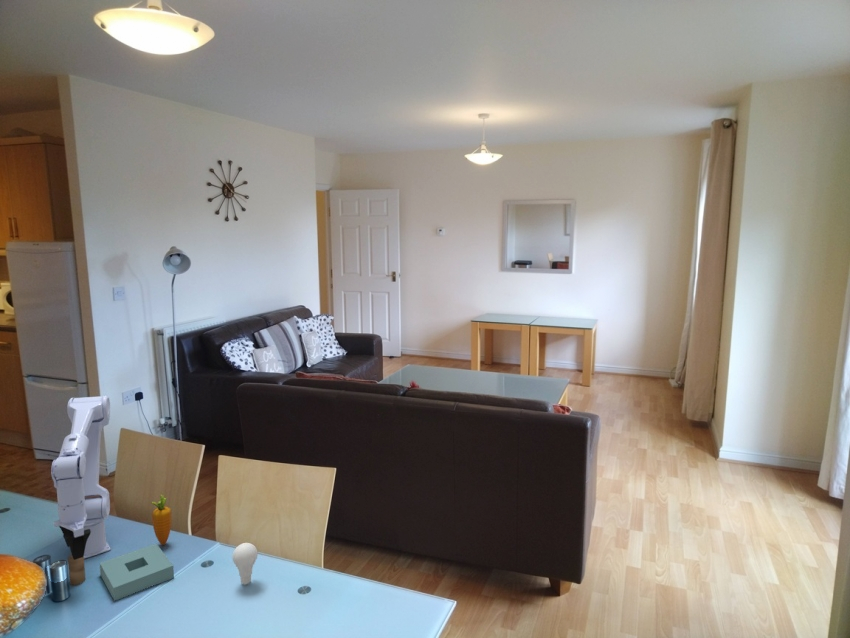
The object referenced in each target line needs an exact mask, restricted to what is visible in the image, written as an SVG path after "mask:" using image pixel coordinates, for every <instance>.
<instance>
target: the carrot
mask: <svg viewBox="0 0 850 638" xmlns="http://www.w3.org/2000/svg"><path fill="white" fill-rule="evenodd" d="M164 496H165V495H163V494H160V495H159V501H158V502H156V501H152V502H151V504H152V505H154V506H155V507H157V508H155V509H154V510H153V513H152V514H151V517H152V526H153V530H154V535H155V538H156V539H157V541H158V543H160V545H161V546H162V547H164V546H165V545H166V544H167V541H168V539H169V536H170V534H171V530H172V529H171V528H172V509H171V508H170V507H168V506H165V505H166V502H167V498H166V497H164Z"/></svg>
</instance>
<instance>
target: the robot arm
mask: <svg viewBox="0 0 850 638" xmlns="http://www.w3.org/2000/svg"><path fill="white" fill-rule="evenodd" d="M66 412H67V416H68V418H69V420H70V423H71V430H70V434H68V435H66V436H65V437H64V439H63V442H62V445H61V448H60V452H59V454H58V457H57V458H56V459H53V461H52V463H51V467H50V468H51V470H50V471H51V472H50V473H51V474H50V475H51V479H52V481H53V487H54V488H55V489H56V494H57V495H56V496H57V509H58V519H57V520H55V521H54V522H53V526H54V527H55V528H57V527H58V528H59V529H60V530H61V533H62V537H63V539H64V541H65V544H66V546H67V548H69V549H70V555H72V557H73V559H74V560H76V559H79V558H82V557H83V556H84V560H85V559H89V558H91V557H94V556H96V555H100V554H102V553H106V552H109V551H110V550H111V549H112V548H111V546H110V545H109V542H108V541H107V538H106V525H105V524H106V523H105V519H107V518H108V516H109V515H110V512H111V511H110V510H111V499H110V492H109V490H108V489H107V488H106V487H103V486H101V485H100V464H101V463H100V462H101V445H102V444H101V440H102V439H101V438H102V432H103V428H104V427H105V426H108V425H109V423H110V420H111V418H110V417H111V415H110V414H111V402H110V397H108V395H106V394H105V395H103V396H101V395H100V396H99V395H98V396H87V397H71V398H70V399H69V400H68V402H67V407H66Z"/></svg>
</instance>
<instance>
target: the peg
mask: <svg viewBox="0 0 850 638" xmlns="http://www.w3.org/2000/svg"><path fill="white" fill-rule="evenodd" d="M67 561H68V562H67V565H68V575H69V576H68V577H69V585H71V586H78V585H81V584H83V583H84V582H85V581H86V570H85V559H84V556H83V557H82V558H79V559H76V560H74V559H73V557H72V554H70V555H69V556H68V557H67Z"/></svg>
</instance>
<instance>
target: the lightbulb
mask: <svg viewBox="0 0 850 638" xmlns="http://www.w3.org/2000/svg"><path fill="white" fill-rule="evenodd" d="M257 559H258V550H257V547H256V546H255V545H254V544H252V543H251V542H250V543H249V542H244V543H243V542H242V543H241V544H239V545H237V546H236V548H235V549H234V550H233V552H232V562H233V564H234V565H235V567H236V568H237V570H238V574H239V575H238V576H239V578H240V583H241V584H242V585H248V584H250V583H251V582H252V575H253V567H254V565H255V563H256V561H257Z"/></svg>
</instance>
